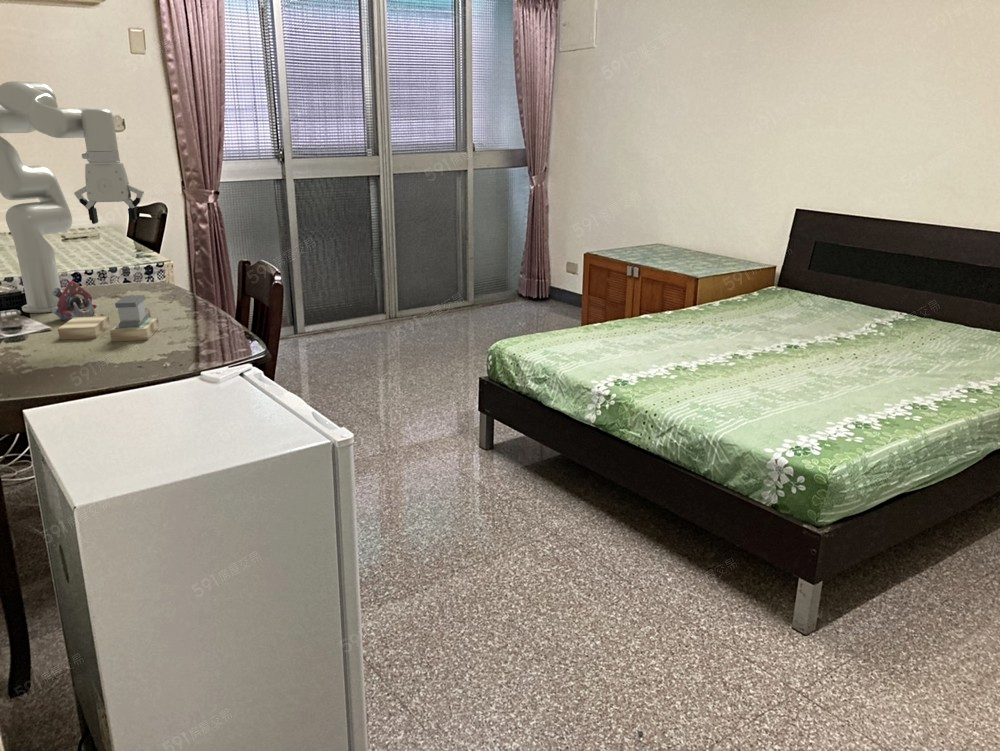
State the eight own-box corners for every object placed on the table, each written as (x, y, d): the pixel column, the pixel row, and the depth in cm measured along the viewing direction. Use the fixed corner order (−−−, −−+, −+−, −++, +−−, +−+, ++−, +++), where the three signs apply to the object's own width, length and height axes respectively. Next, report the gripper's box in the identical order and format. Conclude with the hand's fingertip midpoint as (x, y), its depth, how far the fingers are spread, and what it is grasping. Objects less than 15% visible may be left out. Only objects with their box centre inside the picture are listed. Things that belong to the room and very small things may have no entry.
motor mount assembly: (76, 316, 215) (51, 281, 214) (58, 336, 220) (34, 301, 219) (109, 307, 224) (86, 273, 224) (91, 326, 230) (68, 293, 229)
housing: (128, 319, 209) (125, 295, 207) (148, 318, 210) (144, 295, 207) (119, 327, 200) (115, 303, 198) (139, 327, 201) (135, 302, 199)
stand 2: (124, 329, 211) (123, 318, 210) (159, 328, 212) (157, 316, 211) (111, 341, 200) (109, 329, 199) (147, 339, 201) (146, 328, 200)
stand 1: (75, 327, 212) (73, 317, 211) (110, 326, 214) (108, 316, 213) (59, 339, 201) (57, 328, 200) (96, 338, 203) (94, 327, 202)
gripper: (63, 159, 198) (75, 225, 203) (134, 158, 200) (144, 224, 206) (73, 157, 205) (85, 221, 210) (142, 157, 207) (151, 220, 213)
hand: (114, 222), depth 208 cm, fingers open, 9 cm apart
